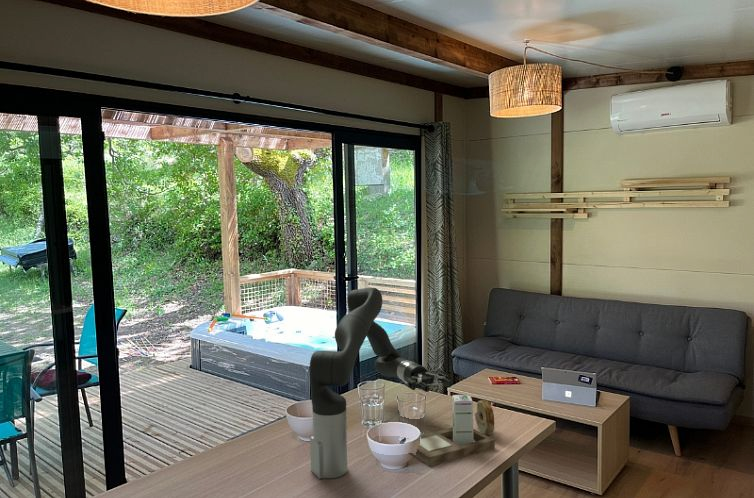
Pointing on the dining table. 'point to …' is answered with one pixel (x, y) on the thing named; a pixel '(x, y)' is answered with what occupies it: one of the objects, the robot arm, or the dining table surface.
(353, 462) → the dining table surface
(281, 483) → the dining table surface
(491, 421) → the bagel
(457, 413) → the syrup box
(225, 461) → the dining table surface
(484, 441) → the dock board
